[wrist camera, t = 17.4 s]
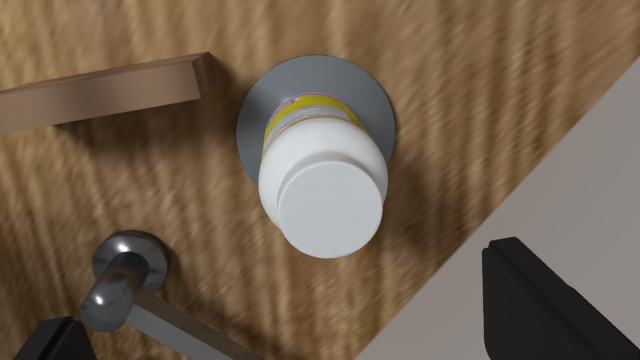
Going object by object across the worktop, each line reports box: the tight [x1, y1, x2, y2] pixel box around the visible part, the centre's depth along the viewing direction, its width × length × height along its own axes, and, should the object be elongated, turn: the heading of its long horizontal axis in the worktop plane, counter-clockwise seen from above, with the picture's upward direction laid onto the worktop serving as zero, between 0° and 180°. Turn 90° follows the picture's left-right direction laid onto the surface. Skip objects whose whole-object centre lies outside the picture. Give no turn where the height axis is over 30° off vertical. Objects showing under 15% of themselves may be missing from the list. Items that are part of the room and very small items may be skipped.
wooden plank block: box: [0, 52, 215, 134], centre depth 28 cm, size 12×2×6 cm, turn 99°
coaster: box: [236, 55, 395, 187], centre depth 33 cm, size 11×11×1 cm
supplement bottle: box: [259, 92, 388, 258], centre depth 27 cm, size 7×7×13 cm
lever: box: [80, 230, 266, 360], centre depth 34 cm, size 18×5×7 cm, turn 51°
